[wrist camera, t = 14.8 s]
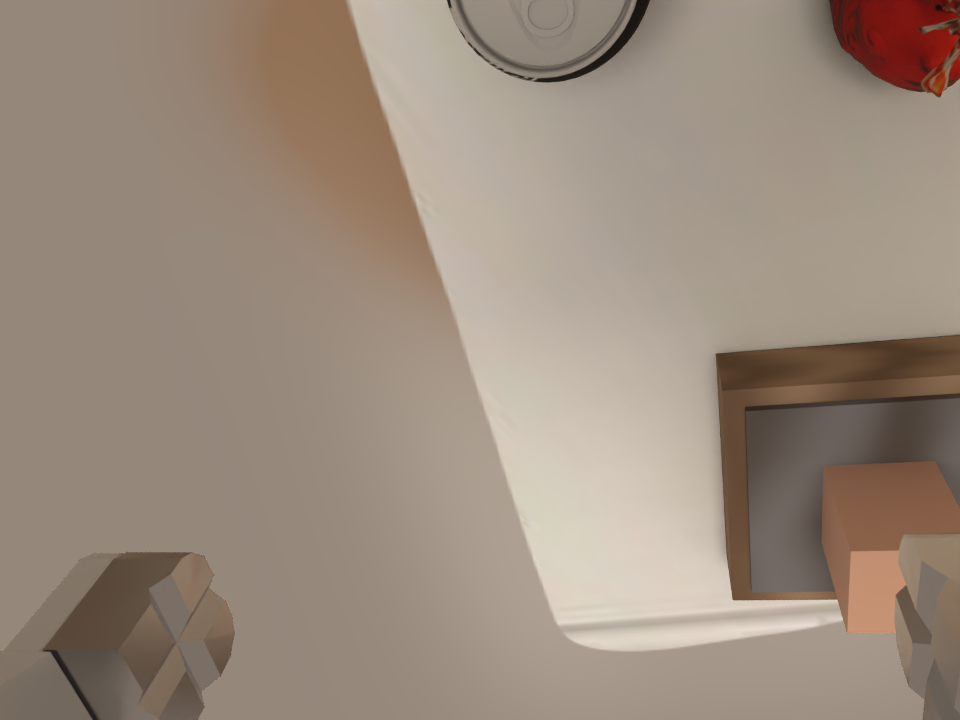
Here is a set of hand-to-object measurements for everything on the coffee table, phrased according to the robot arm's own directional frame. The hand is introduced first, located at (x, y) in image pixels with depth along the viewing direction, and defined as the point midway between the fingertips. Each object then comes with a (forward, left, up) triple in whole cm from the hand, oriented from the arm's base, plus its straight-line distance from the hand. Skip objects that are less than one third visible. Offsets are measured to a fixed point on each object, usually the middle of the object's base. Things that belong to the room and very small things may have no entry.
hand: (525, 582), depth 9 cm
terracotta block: (-11, +22, -27) cm, 37 cm away
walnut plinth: (-11, +22, -31) cm, 40 cm away
